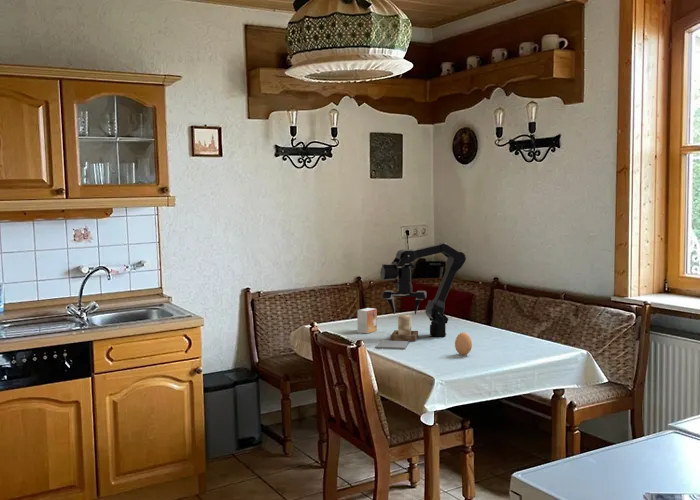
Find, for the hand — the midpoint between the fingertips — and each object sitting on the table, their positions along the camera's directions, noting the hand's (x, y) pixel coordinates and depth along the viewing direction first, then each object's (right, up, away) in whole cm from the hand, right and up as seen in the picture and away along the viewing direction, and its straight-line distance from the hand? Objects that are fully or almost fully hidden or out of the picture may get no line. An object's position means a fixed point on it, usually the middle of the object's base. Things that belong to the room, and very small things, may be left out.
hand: (404, 314), depth 313 cm
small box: (-16, -10, +17) cm, 25 cm away
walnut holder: (0, -11, +1) cm, 11 cm away
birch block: (0, -11, +1) cm, 11 cm away
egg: (+21, -14, -31) cm, 40 cm away
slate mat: (-6, -12, -13) cm, 19 cm away
